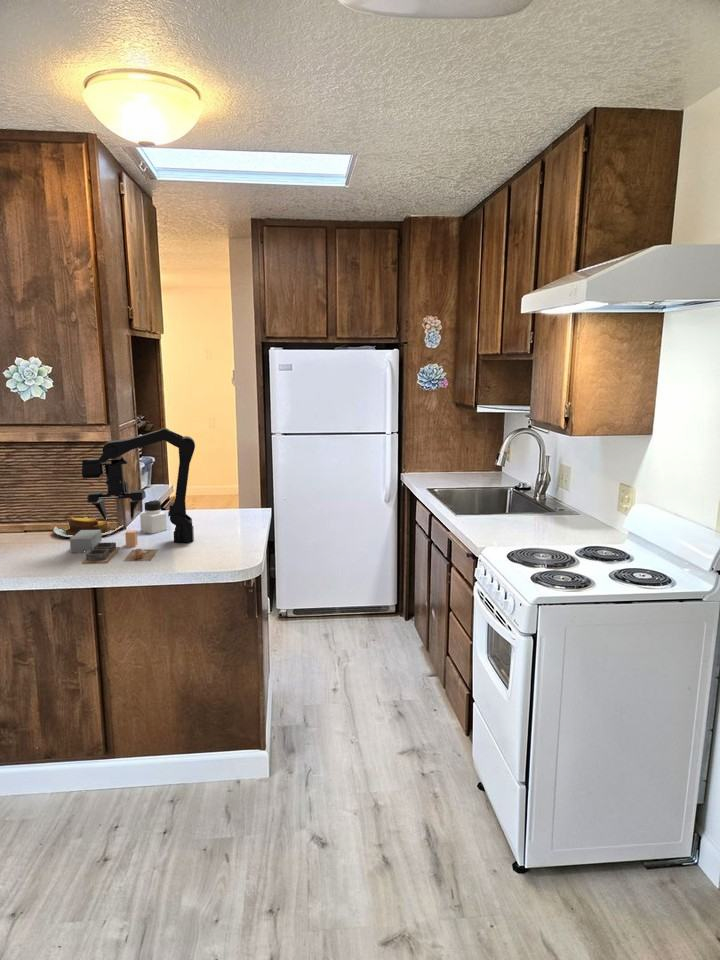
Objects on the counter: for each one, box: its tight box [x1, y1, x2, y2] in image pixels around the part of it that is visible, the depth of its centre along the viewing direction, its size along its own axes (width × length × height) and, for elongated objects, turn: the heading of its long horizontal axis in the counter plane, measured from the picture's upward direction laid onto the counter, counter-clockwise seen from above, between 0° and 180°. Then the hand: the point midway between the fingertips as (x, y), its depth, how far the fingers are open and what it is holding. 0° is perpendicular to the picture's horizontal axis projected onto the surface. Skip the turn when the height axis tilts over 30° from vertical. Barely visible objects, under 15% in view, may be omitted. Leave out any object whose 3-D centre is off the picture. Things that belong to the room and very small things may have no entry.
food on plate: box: [52, 516, 125, 539], centre depth 246 cm, size 25×25×7 cm
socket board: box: [81, 541, 121, 565], centre depth 213 cm, size 8×16×4 cm, turn 6°
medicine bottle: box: [139, 499, 168, 534], centre depth 247 cm, size 7×7×12 cm
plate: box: [123, 548, 159, 562], centre depth 214 cm, size 9×13×4 cm
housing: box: [69, 530, 103, 553], centre depth 224 cm, size 7×12×5 cm, turn 7°
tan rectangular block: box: [124, 529, 138, 548], centre depth 225 cm, size 3×3×6 cm
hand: (119, 519), depth 224 cm, fingers open, 9 cm apart
